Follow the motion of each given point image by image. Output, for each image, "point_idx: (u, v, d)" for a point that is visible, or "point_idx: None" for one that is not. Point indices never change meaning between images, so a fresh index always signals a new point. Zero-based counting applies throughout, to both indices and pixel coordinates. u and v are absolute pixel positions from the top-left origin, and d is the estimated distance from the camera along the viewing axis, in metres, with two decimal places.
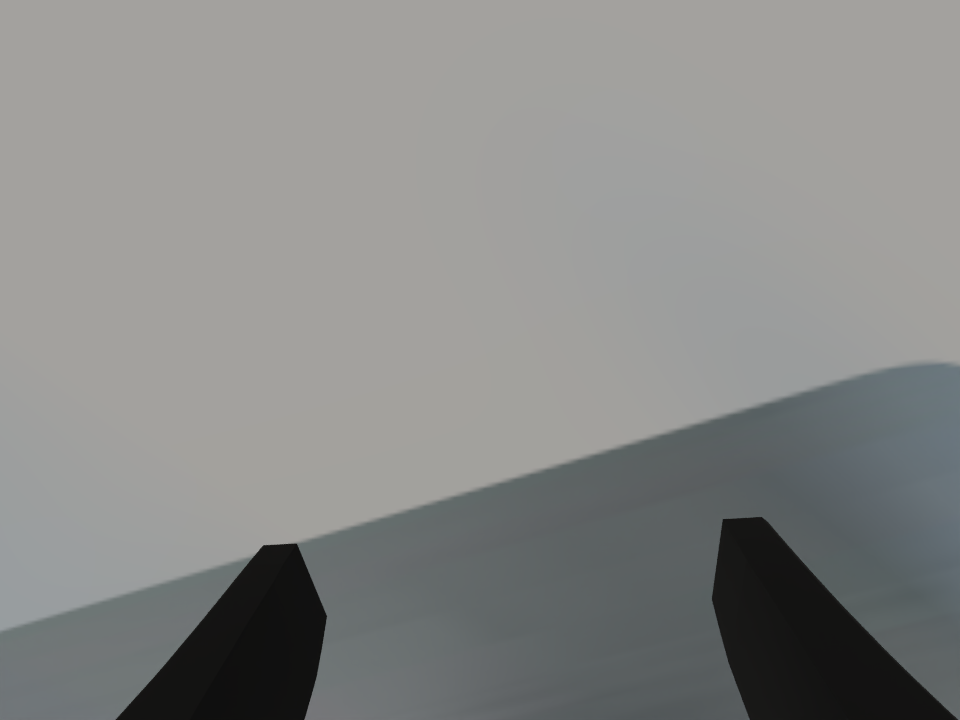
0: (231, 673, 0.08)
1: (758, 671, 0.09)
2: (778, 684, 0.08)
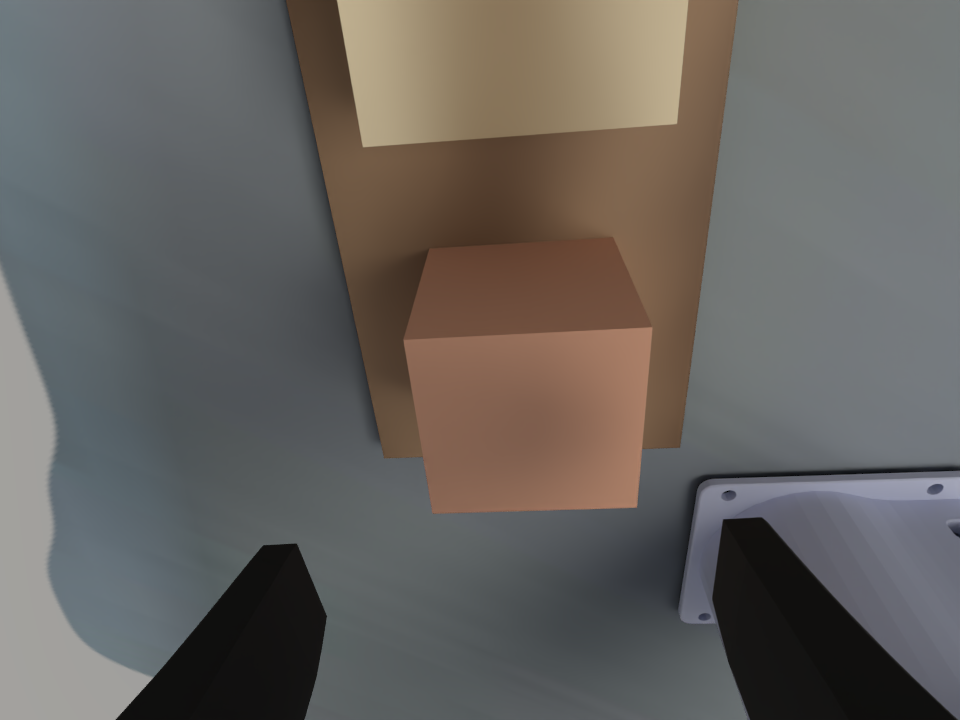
0: (231, 673, 0.08)
1: (758, 671, 0.09)
2: (778, 684, 0.08)
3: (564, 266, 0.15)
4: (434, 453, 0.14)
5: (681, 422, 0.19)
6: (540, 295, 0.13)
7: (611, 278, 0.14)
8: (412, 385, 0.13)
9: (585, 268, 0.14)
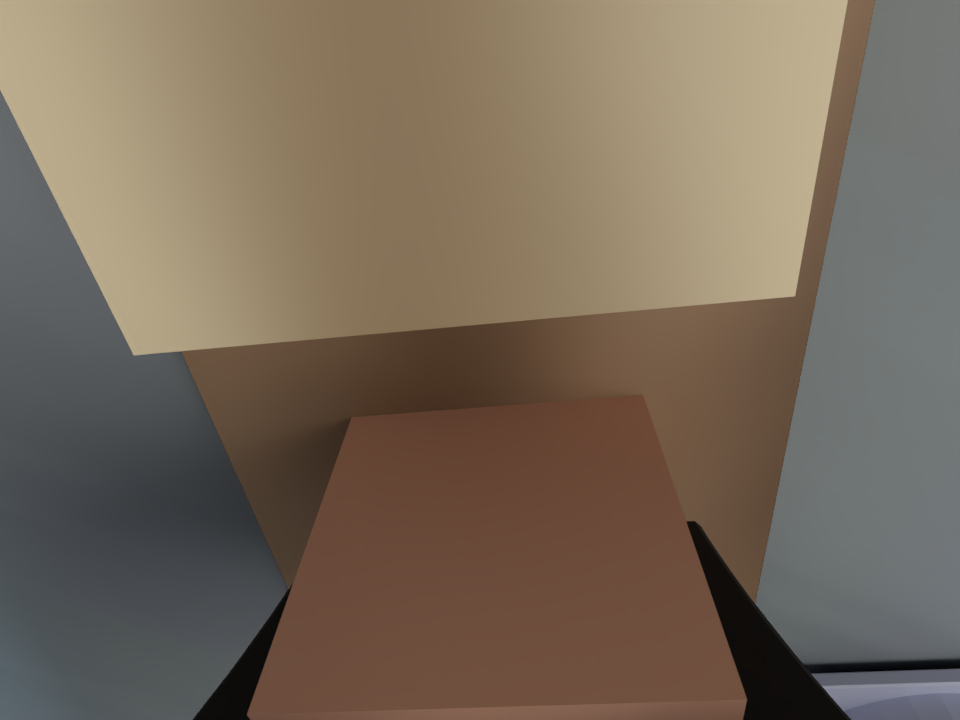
0: None
1: None
2: None
3: (563, 472, 0.09)
4: None
5: None
6: (520, 565, 0.07)
7: (648, 513, 0.08)
8: None
9: (601, 481, 0.08)
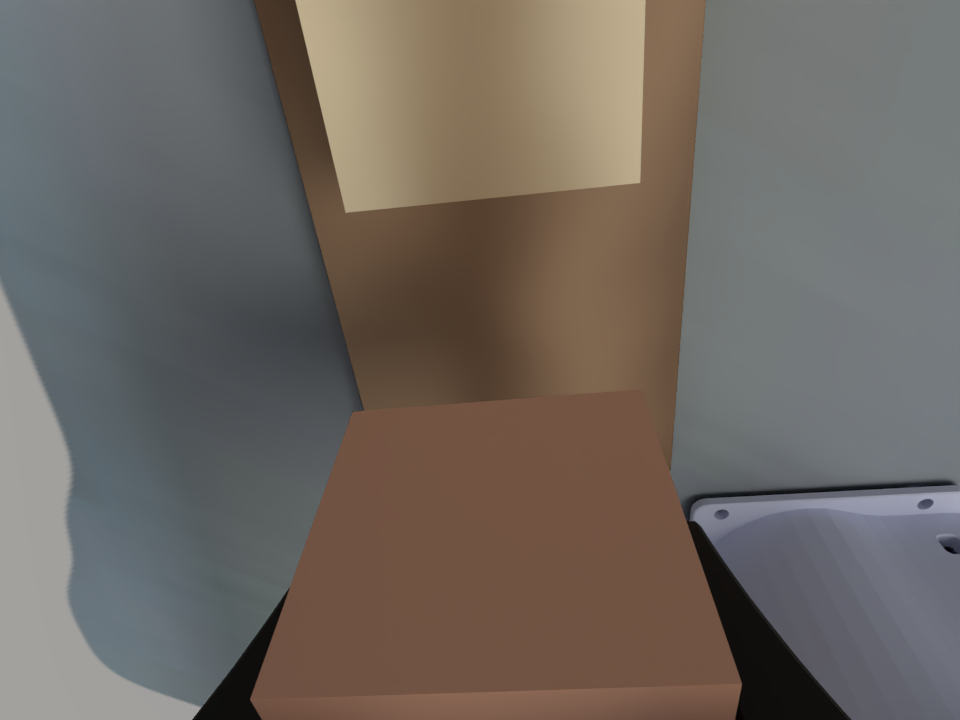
0: None
1: None
2: None
3: (562, 465, 0.09)
4: None
5: (670, 446, 0.20)
6: (520, 555, 0.07)
7: (646, 503, 0.08)
8: None
9: (599, 474, 0.08)
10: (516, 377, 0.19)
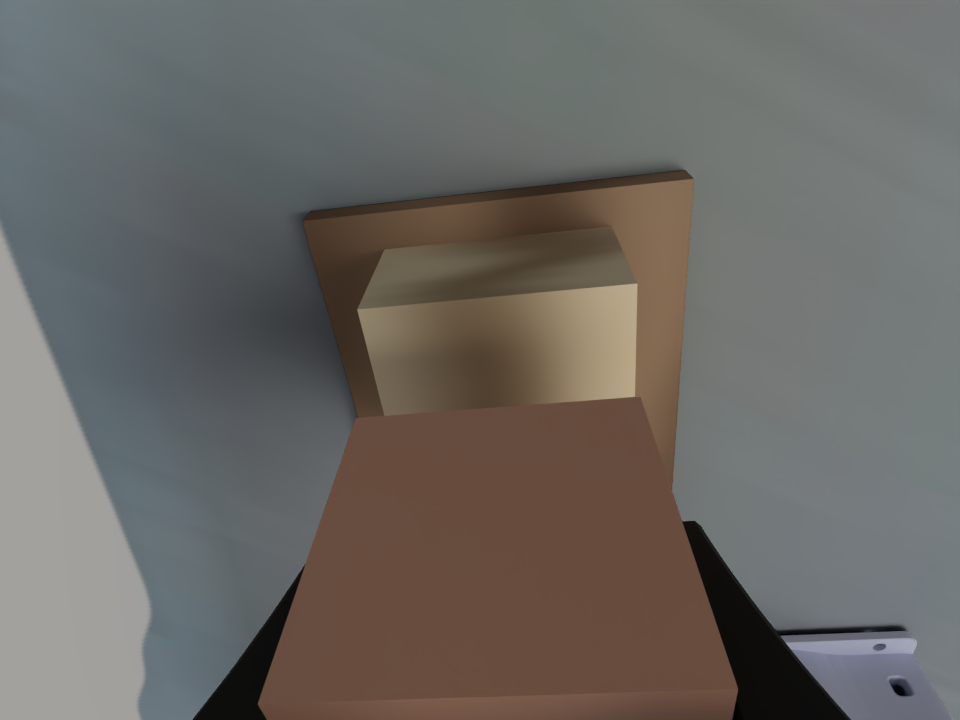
0: None
1: None
2: None
3: (562, 473, 0.09)
4: None
5: None
6: (520, 562, 0.08)
7: (645, 511, 0.08)
8: None
9: (599, 481, 0.09)
10: None
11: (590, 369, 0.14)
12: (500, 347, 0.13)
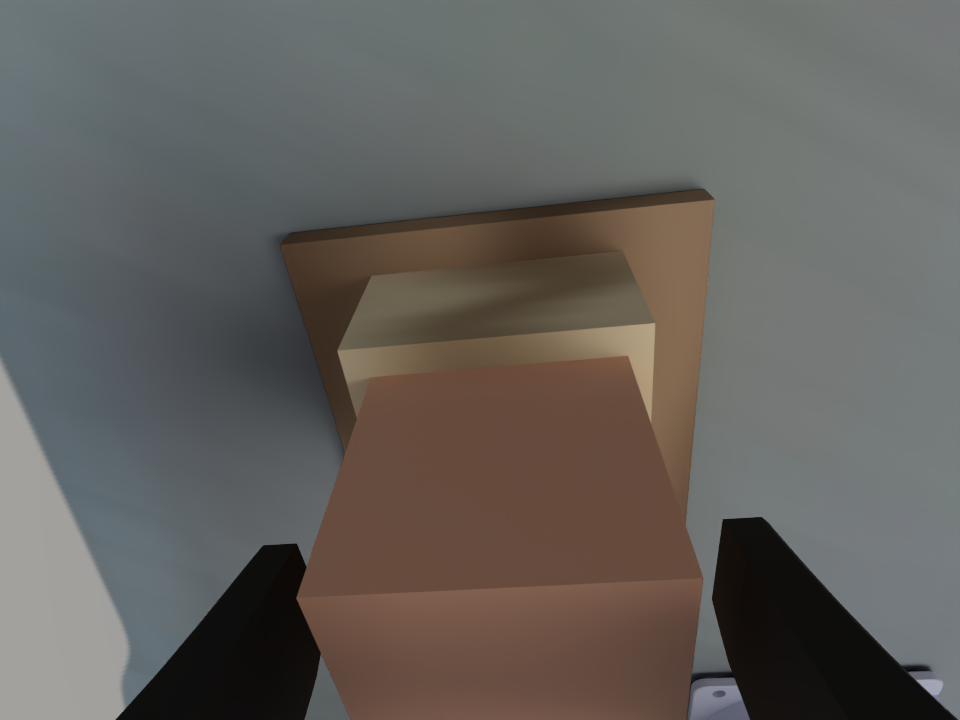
0: (231, 673, 0.08)
1: (758, 671, 0.09)
2: (778, 684, 0.08)
3: (557, 418, 0.10)
4: None
5: None
6: (520, 488, 0.09)
7: (629, 447, 0.09)
8: (322, 650, 0.08)
9: (589, 424, 0.10)
10: None
11: None
12: None
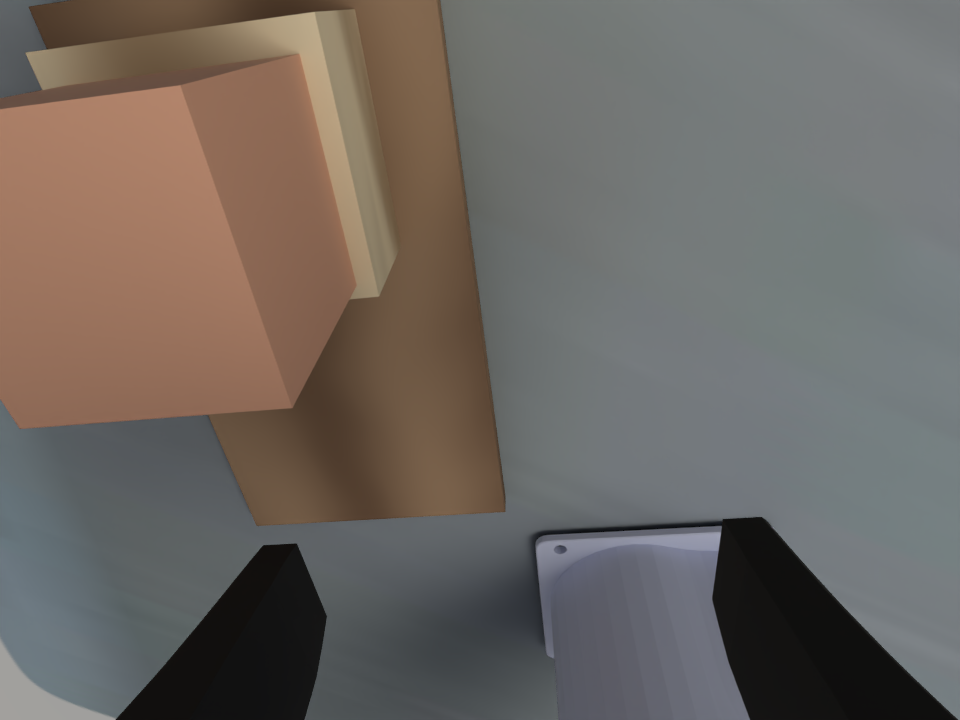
0: (231, 673, 0.08)
1: (758, 671, 0.09)
2: (778, 684, 0.08)
3: (189, 72, 0.10)
4: None
5: (501, 491, 0.22)
6: (100, 89, 0.09)
7: (224, 69, 0.10)
8: None
9: (210, 70, 0.10)
10: (355, 433, 0.21)
11: None
12: None
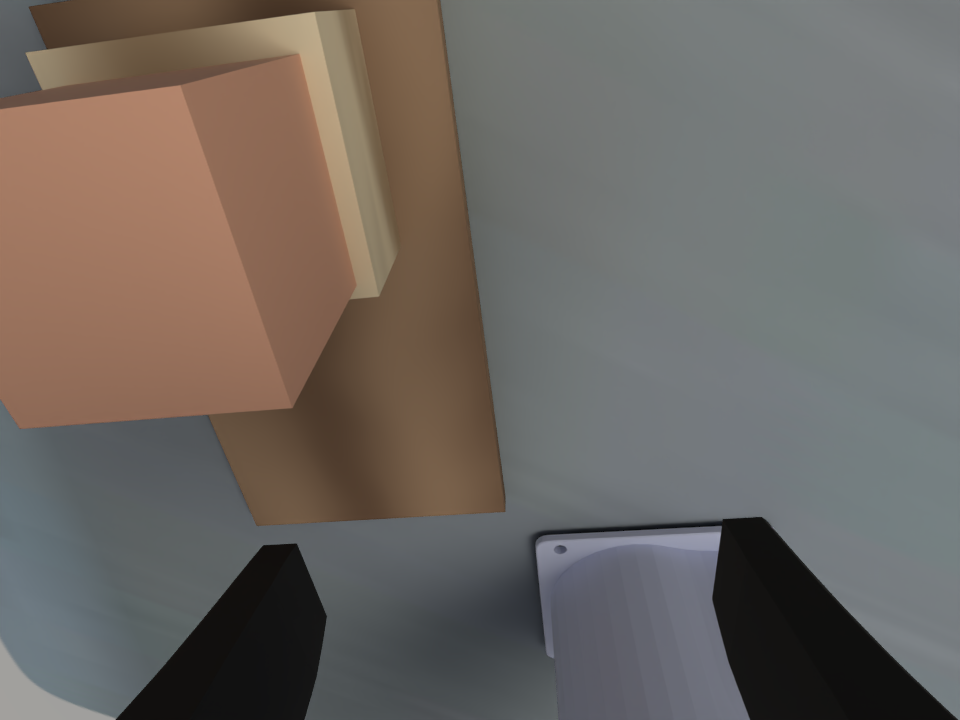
0: (231, 673, 0.08)
1: (758, 671, 0.09)
2: (778, 684, 0.08)
3: (189, 72, 0.10)
4: None
5: (501, 491, 0.22)
6: (100, 89, 0.09)
7: (224, 69, 0.10)
8: None
9: (210, 70, 0.10)
10: (355, 433, 0.21)
11: None
12: None
